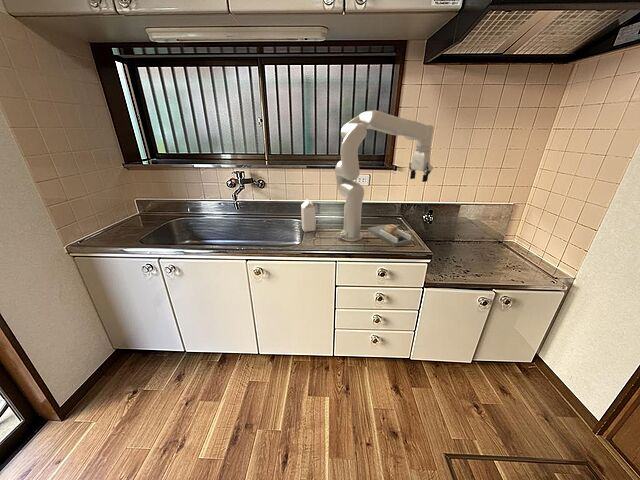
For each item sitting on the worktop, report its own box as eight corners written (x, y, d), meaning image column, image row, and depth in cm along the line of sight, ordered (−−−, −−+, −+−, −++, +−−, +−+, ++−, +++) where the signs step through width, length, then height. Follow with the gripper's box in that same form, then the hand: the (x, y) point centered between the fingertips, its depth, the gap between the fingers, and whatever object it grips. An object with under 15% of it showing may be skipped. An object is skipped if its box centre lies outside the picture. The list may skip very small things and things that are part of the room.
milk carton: (304, 232, 155) (303, 201, 147) (301, 228, 161) (300, 198, 154) (315, 230, 157) (315, 200, 149) (312, 226, 163) (312, 197, 156)
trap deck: (393, 246, 135) (394, 239, 133) (367, 230, 156) (368, 224, 154) (411, 243, 140) (412, 235, 138) (383, 227, 161) (384, 221, 159)
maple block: (389, 236, 143) (390, 228, 141) (384, 233, 147) (385, 225, 145) (396, 235, 145) (397, 226, 143) (391, 232, 149) (392, 224, 147)
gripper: (406, 148, 148) (403, 178, 155) (429, 150, 134) (424, 183, 141) (416, 147, 151) (412, 177, 158) (440, 150, 137) (434, 182, 144)
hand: (418, 180), depth 149 cm, fingers open, 9 cm apart
